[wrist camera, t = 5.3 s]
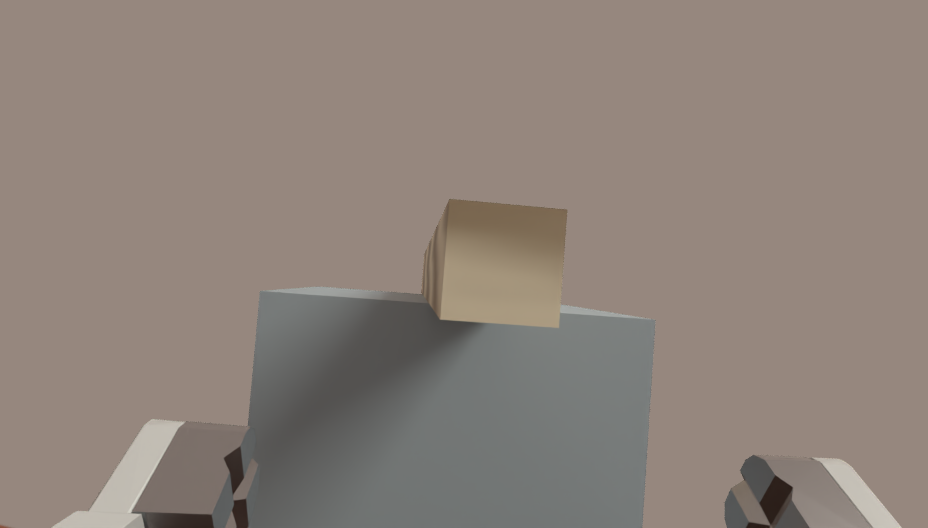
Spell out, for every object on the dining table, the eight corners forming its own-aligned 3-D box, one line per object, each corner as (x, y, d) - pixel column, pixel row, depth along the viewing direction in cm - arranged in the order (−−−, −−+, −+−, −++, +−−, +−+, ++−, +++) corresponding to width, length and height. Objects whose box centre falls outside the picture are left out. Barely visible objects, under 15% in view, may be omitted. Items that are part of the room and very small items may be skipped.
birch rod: (558, 327, 12) (567, 210, 12) (440, 319, 11) (449, 198, 11) (460, 295, 35) (463, 257, 36) (421, 292, 35) (424, 253, 35)
